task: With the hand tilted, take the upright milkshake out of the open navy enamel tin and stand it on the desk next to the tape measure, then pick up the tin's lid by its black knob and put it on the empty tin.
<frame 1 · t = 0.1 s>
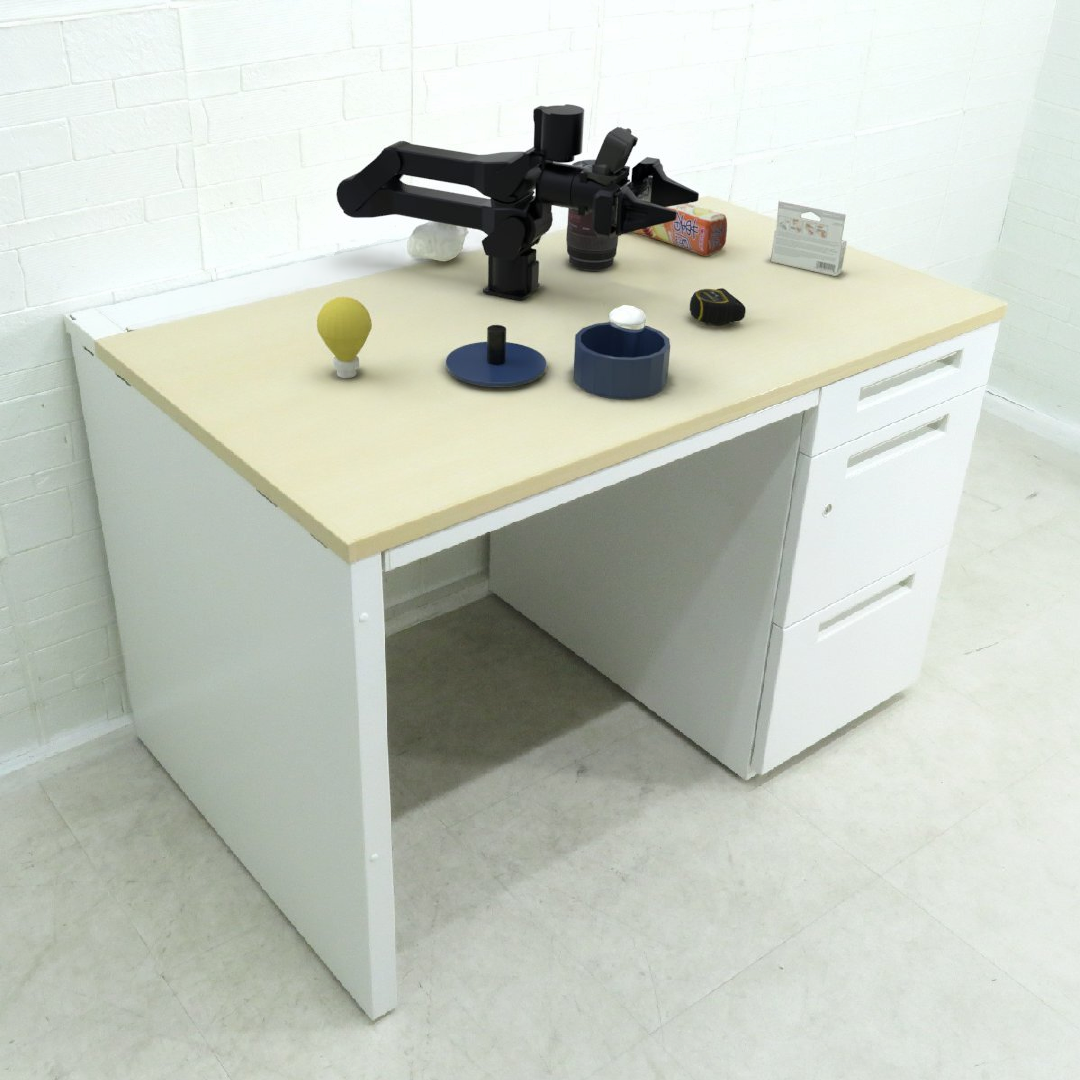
hand: (687, 206, 171), 17 cm above the table, tool horizontal, fingers open, 9 cm apart
milkshake: (619, 378, 164), resting in tin
tin: (619, 378, 164), on the table
tape measure: (716, 320, 182), on the table
ink cartridge box: (805, 268, 201), on the table
bust: (439, 259, 198), on the table, touching arm
camera lens: (590, 265, 199), on the table
tin lid: (496, 365, 165), point 1 cm above the table
snack package: (664, 239, 210), on the table
light bulb: (346, 375, 162), on the table
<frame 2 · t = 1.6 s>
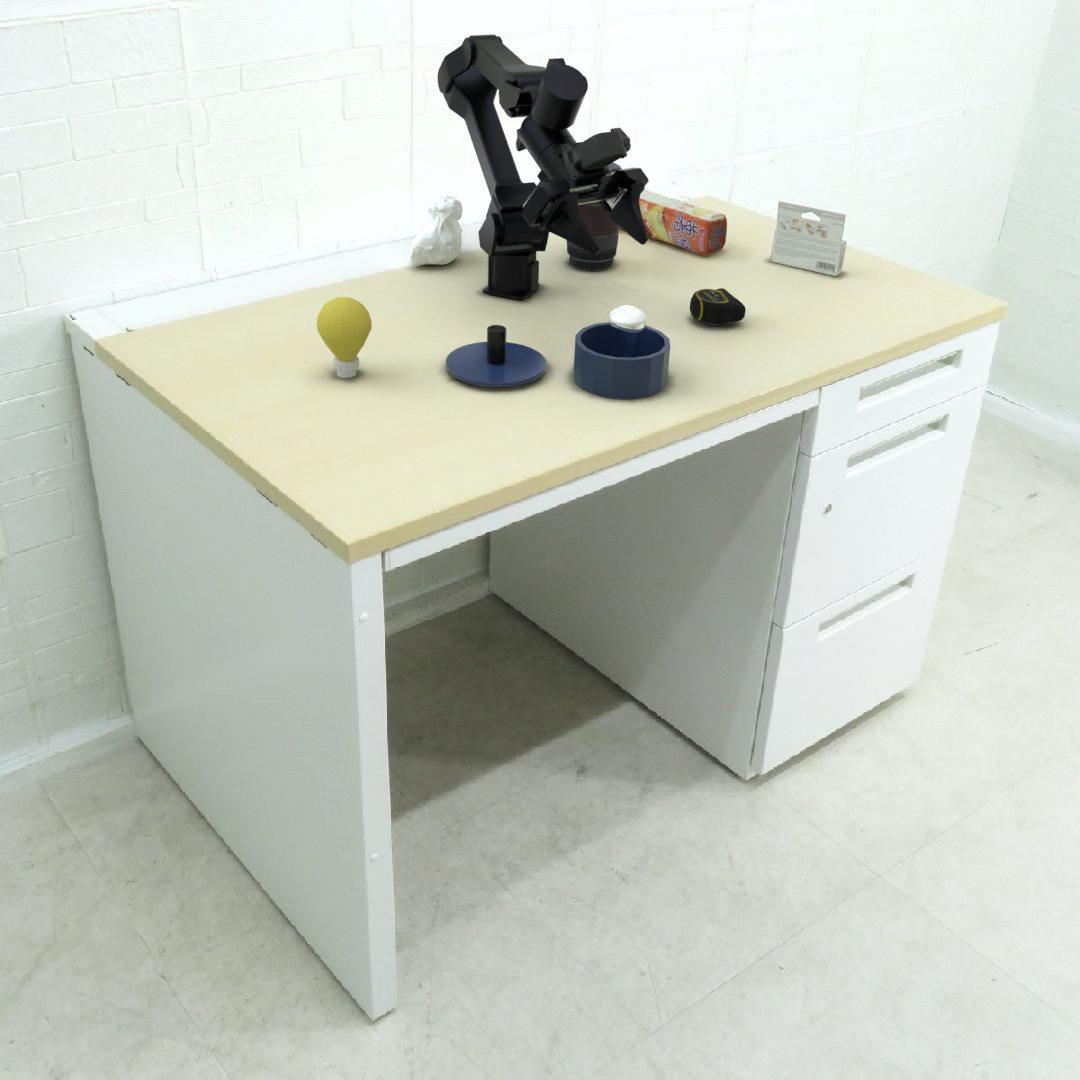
hand: (622, 247, 163), 14 cm above the table, tool tilted 55°, fingers open, 9 cm apart
bust: (439, 262, 198), on the table
everything else where it was.
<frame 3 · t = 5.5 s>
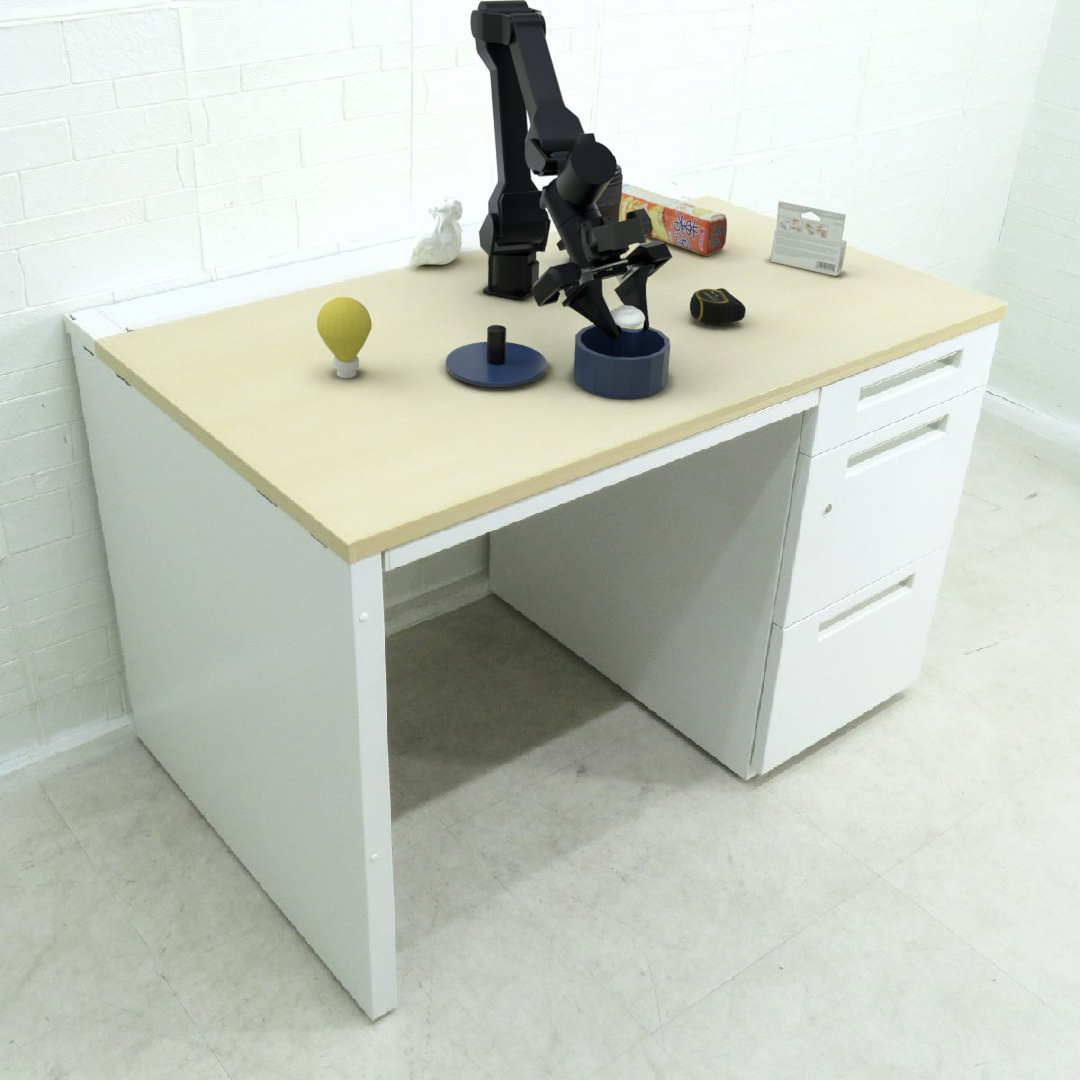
hand: (631, 333, 159), 7 cm above the table, tool tilted 45°, fingers closed on milkshake, 4 cm apart
milkshake: (619, 377, 164), resting in tin, touching gripper
everything else where it was.
when the fingers open (6 cm above the table, at t = 11.4 s): milkshake stays where it is, on the table.
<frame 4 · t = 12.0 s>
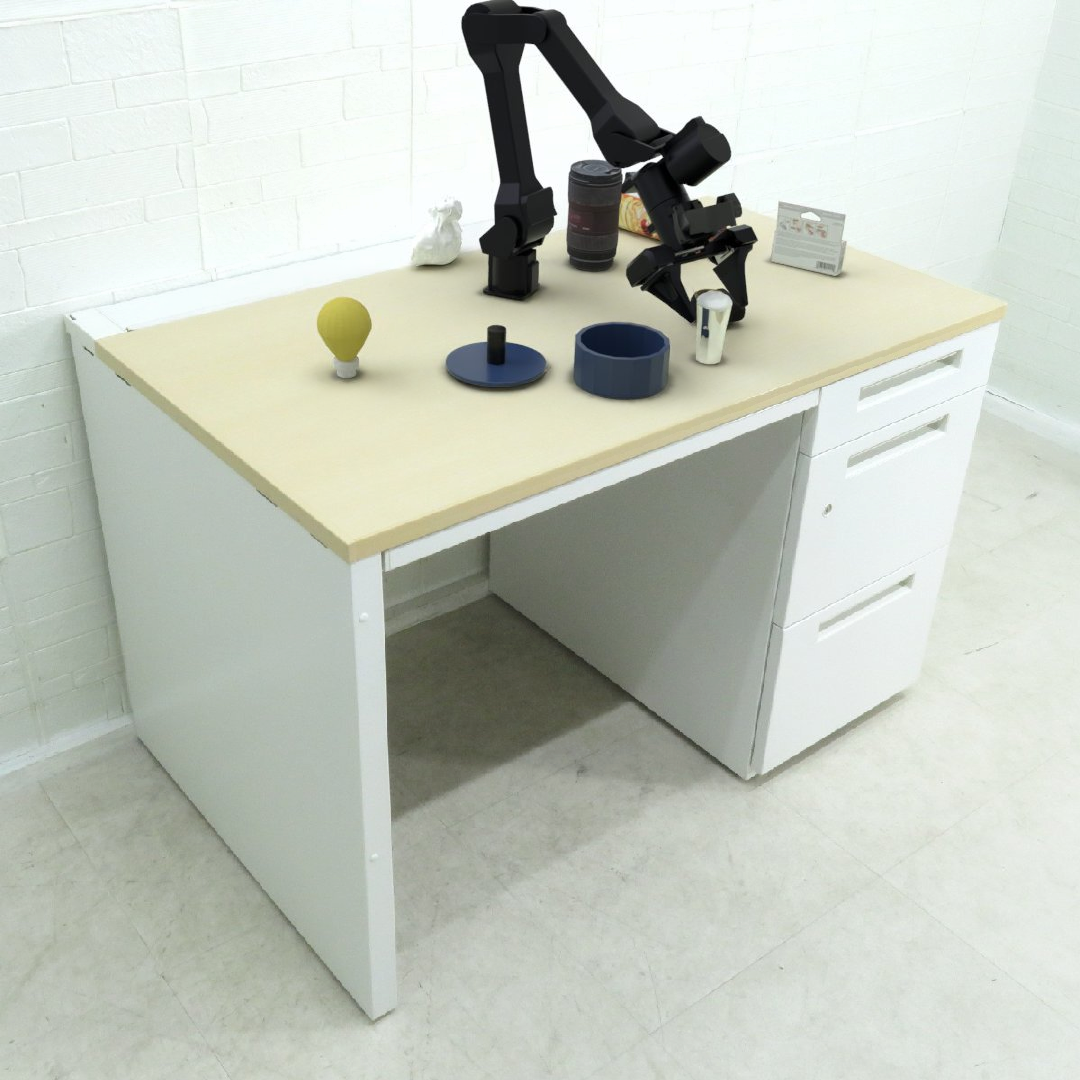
hand: (720, 314, 165), 7 cm above the table, tool tilted 45°, fingers open, 9 cm apart
milkshake: (704, 360, 170), on the table
everything else where it was.
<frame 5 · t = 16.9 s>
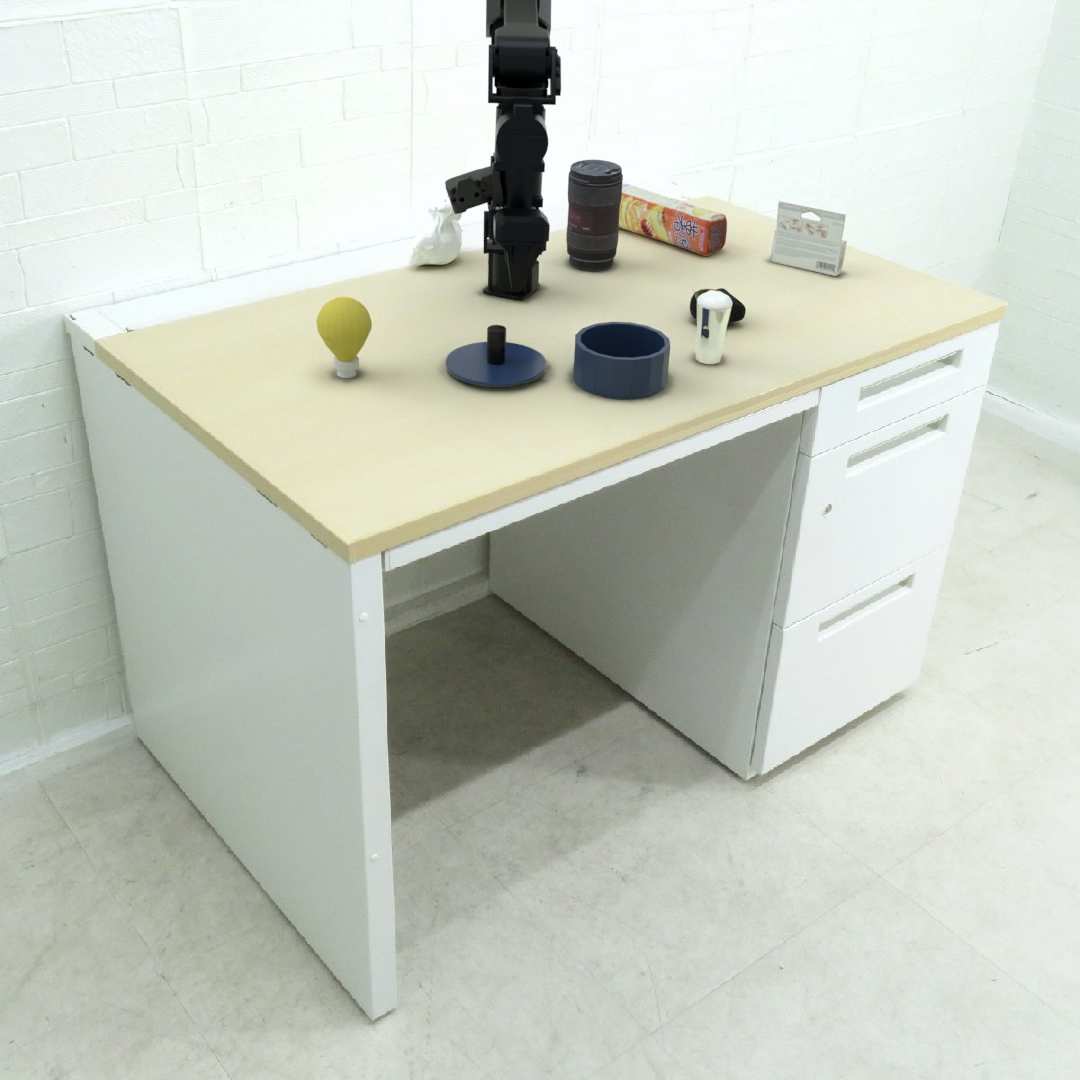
hand: (513, 279, 158), 12 cm above the table, tool pointing down, fingers open, 9 cm apart
nothing on the table moved.
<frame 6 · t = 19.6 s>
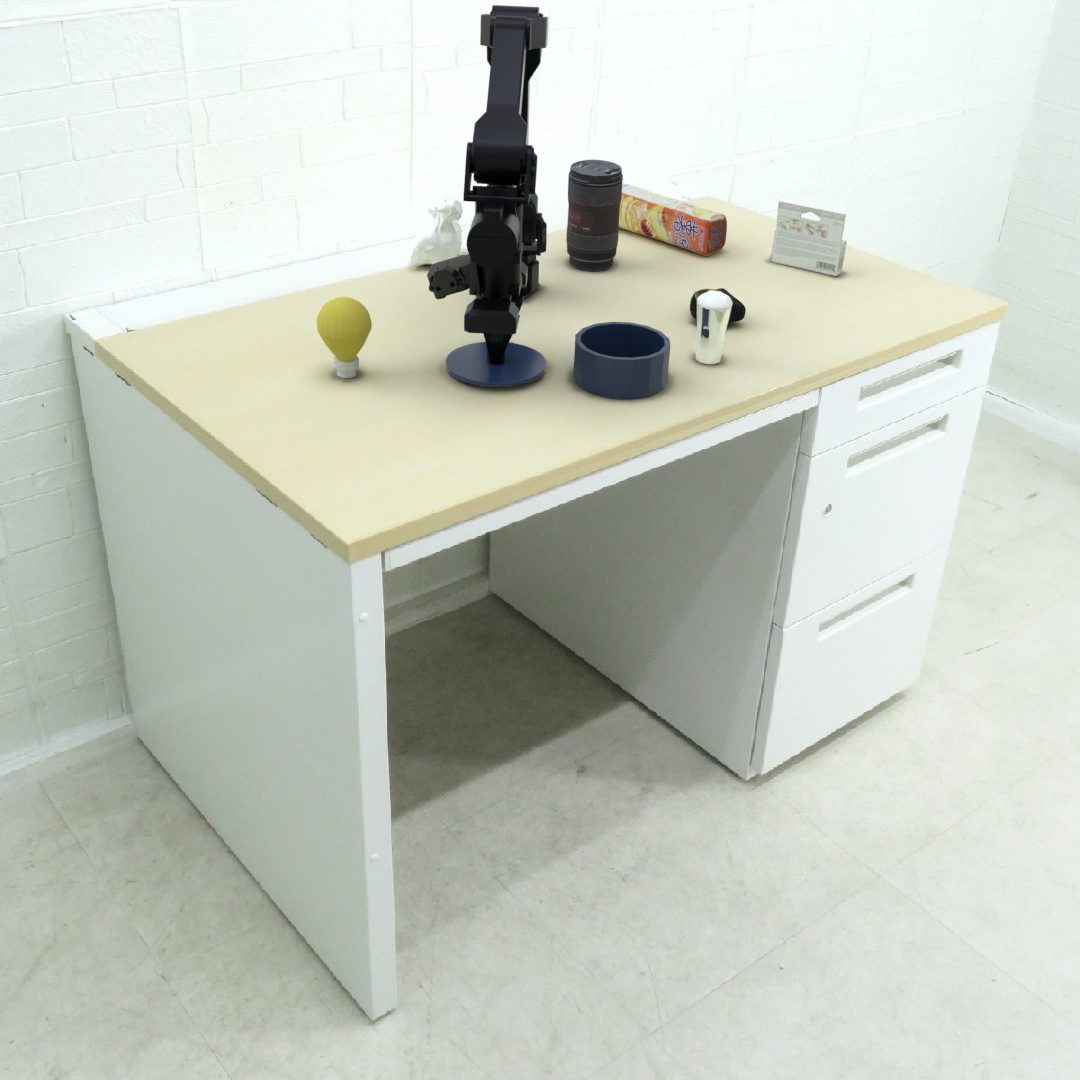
hand: (496, 359, 164), 2 cm above the table, tool pointing down, fingers closed on tin lid, 2 cm apart
tin lid: (496, 365, 165), point 1 cm above the table, touching gripper
everything else where it was.
when the fingers open (6 cm above the table, at t = 24.3 s): tin lid stays where it is, resting on tin.
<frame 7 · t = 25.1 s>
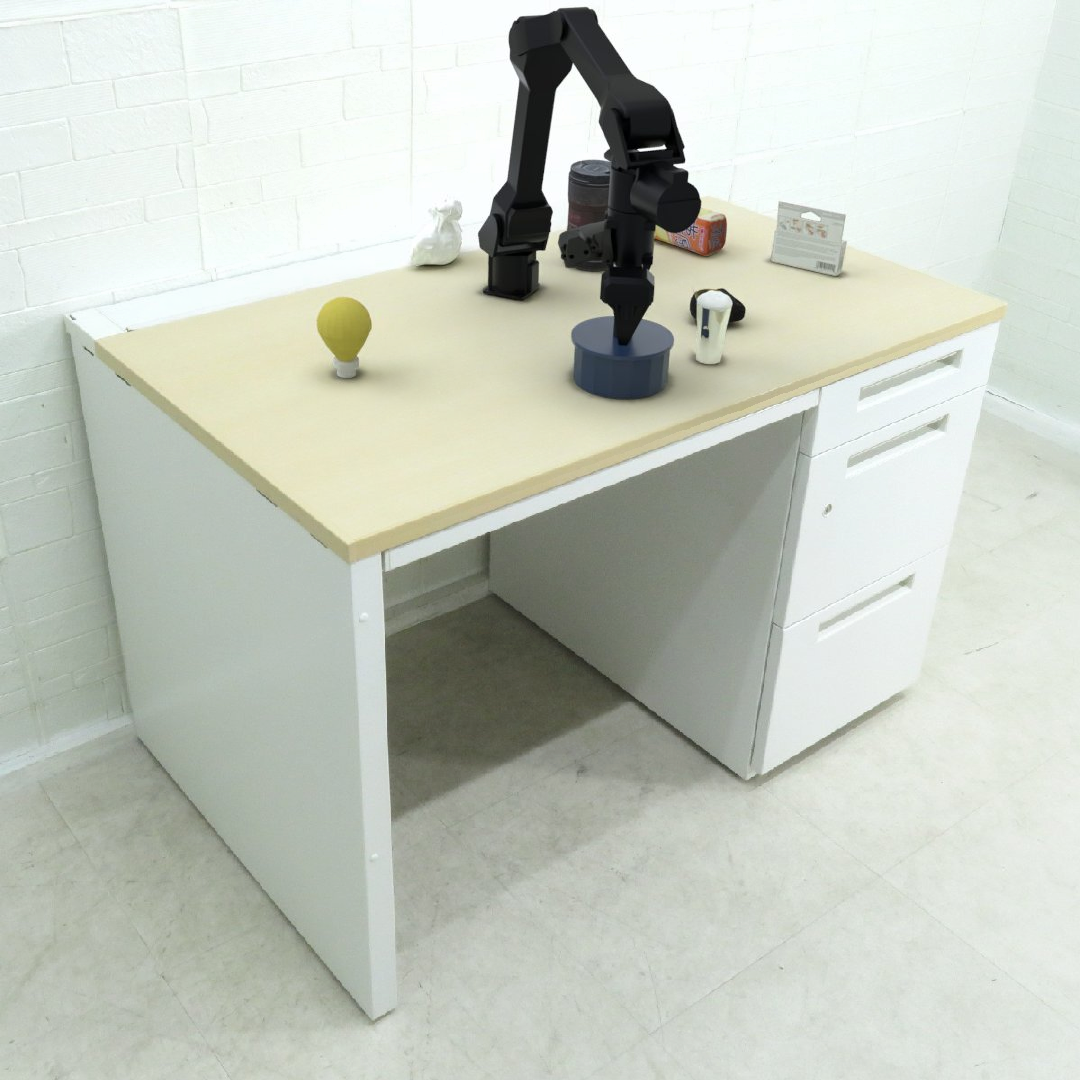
hand: (623, 330, 160), 7 cm above the table, tool pointing down, fingers open, 9 cm apart
tin lid: (622, 339, 161), point 5 cm above the table, touching tin
everything else where it was.
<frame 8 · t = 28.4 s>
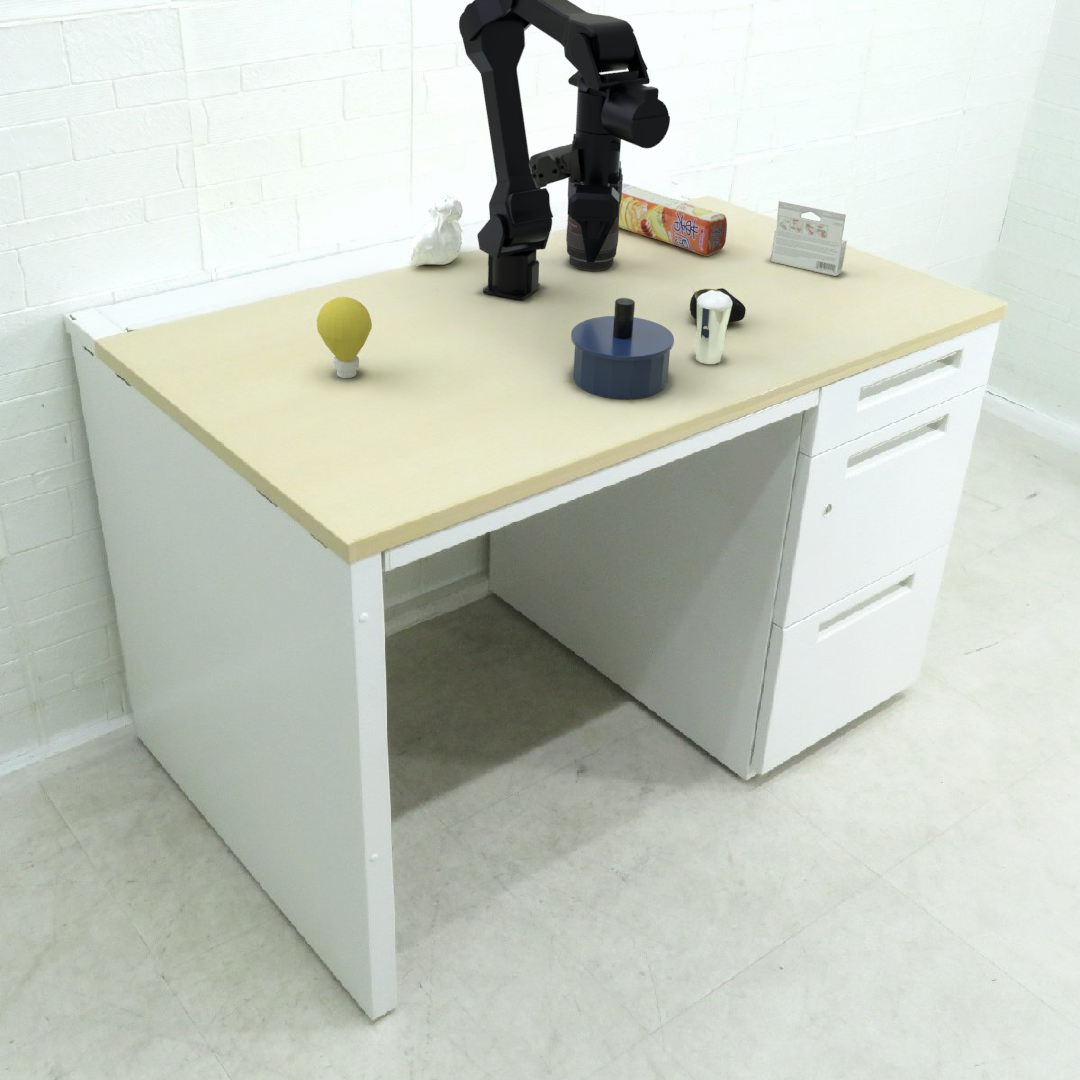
hand: (591, 249, 169), 12 cm above the table, tool pointing down, fingers open, 9 cm apart
nothing on the table moved.
at the end: milkshake 0.2 cm from the target spot, on the table; tin lid 0.0 cm off-centre on the tin, point 5.3 cm above the tin's base; tin lid tilted 0° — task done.
